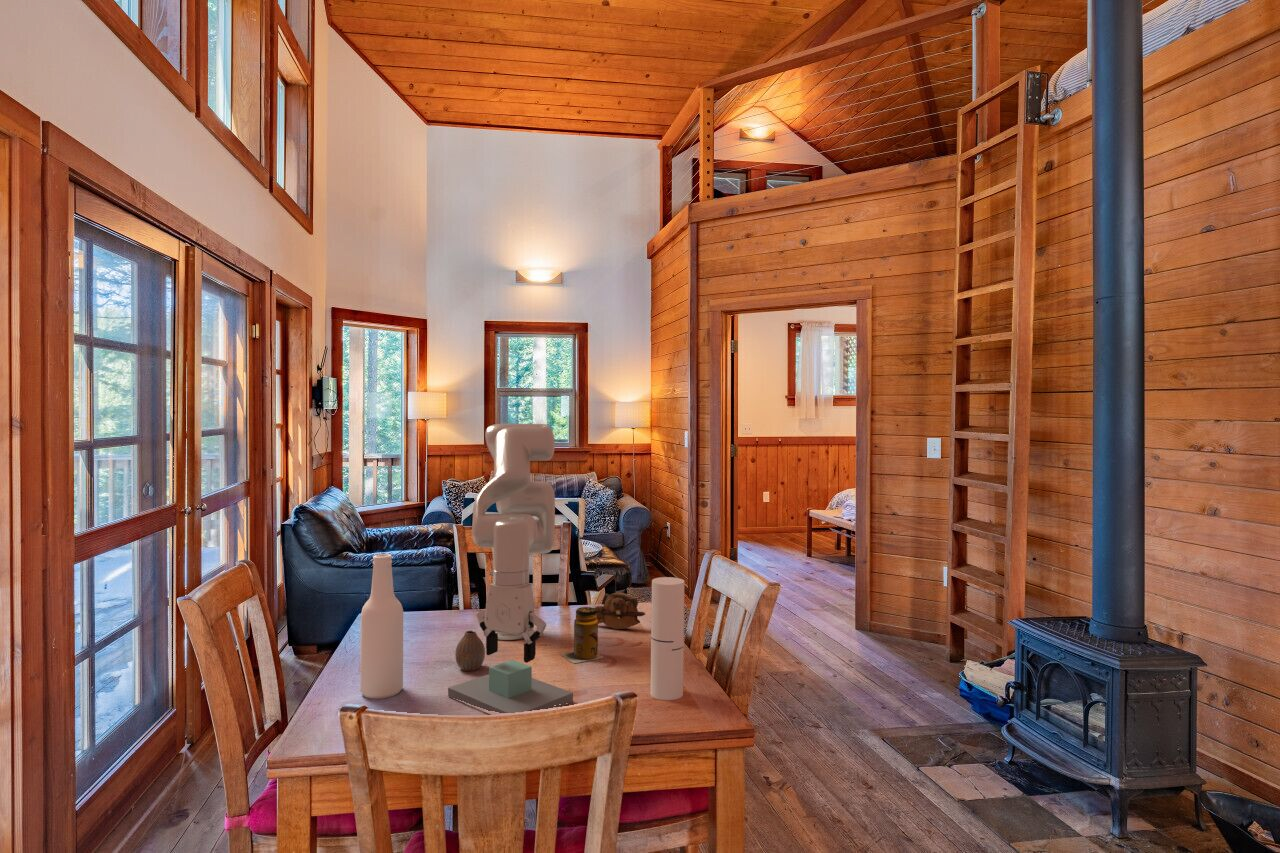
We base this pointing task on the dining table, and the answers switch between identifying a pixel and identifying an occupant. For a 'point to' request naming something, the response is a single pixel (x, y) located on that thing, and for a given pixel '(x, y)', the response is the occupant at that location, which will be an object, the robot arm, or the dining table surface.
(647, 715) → the dining table surface
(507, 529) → the robot arm
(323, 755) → the dining table surface
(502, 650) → the dining table surface
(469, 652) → the vase
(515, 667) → the seafoam cuboid
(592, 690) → the dining table surface
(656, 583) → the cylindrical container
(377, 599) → the alcohol
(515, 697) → the post base
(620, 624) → the wooden carving
